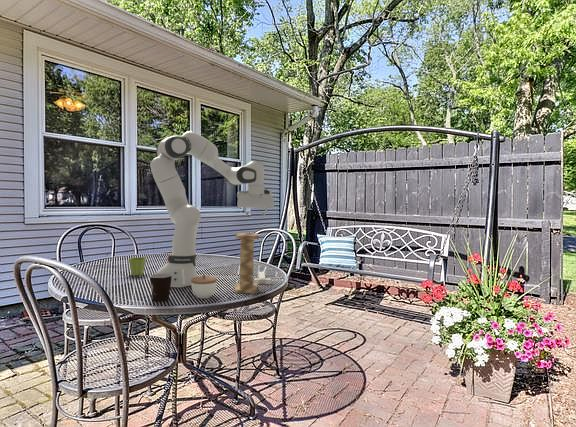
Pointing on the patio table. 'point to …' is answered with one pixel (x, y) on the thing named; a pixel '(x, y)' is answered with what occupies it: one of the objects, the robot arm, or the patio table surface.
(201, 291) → the lidded jar
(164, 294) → the coffee mug
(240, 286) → the stand
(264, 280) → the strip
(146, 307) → the patio table surface
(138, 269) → the plant pot
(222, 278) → the patio table surface
